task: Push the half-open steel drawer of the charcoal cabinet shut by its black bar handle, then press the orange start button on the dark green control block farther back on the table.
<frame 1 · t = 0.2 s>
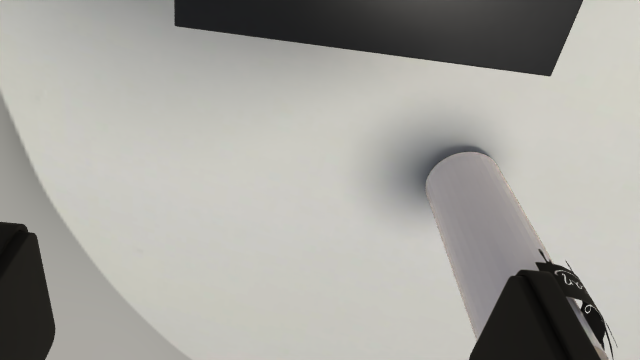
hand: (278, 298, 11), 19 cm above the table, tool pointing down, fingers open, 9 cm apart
perfume bottle: (458, 174, 32), on the table
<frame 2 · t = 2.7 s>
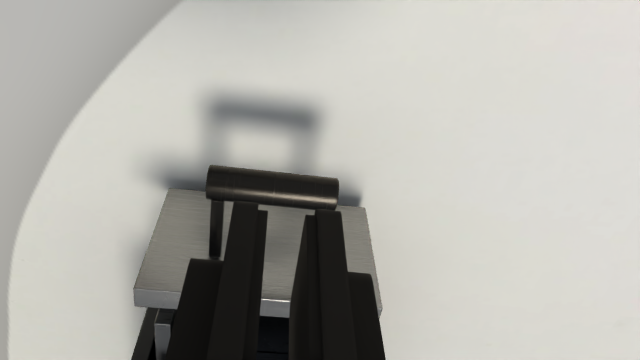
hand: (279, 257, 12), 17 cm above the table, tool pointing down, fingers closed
drawer: (258, 298, 30), point 5 cm above the table, slide at 5.0 cm
cabinet: (252, 334, 39), on the table
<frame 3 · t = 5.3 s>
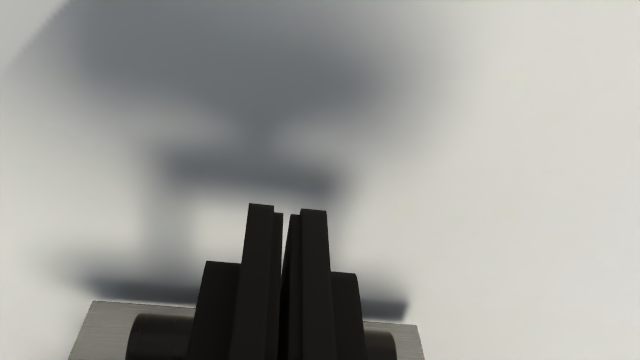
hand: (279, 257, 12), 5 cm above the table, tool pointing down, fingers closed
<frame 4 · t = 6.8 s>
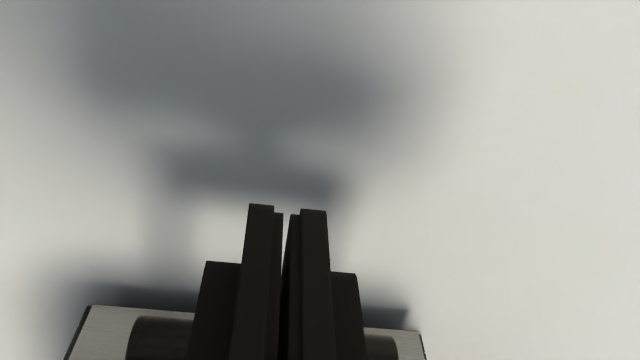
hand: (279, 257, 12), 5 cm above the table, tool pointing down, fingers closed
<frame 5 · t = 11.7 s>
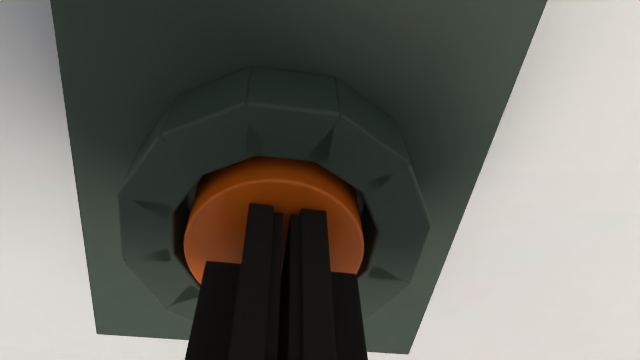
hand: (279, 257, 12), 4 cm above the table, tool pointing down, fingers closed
start button: (275, 228, 12), point 3 cm above the table, slide at -0.9 cm, touching gripper
control block: (279, 151, 15), on the table
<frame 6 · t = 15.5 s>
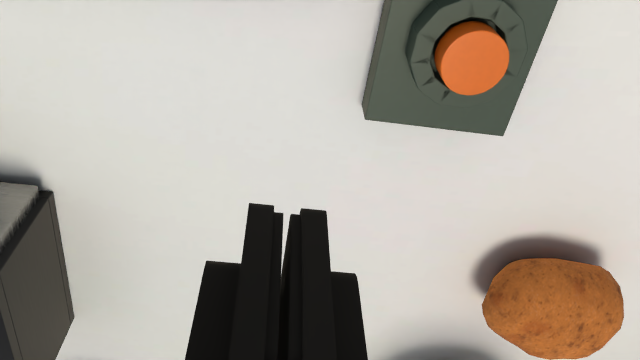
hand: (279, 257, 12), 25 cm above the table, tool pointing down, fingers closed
potato: (530, 274, 48), on the table
start button: (470, 58, 31), point 4 cm above the table, slide at 0.1 cm
control block: (452, 33, 35), on the table
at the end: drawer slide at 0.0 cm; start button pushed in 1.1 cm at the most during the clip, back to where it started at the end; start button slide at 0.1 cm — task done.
